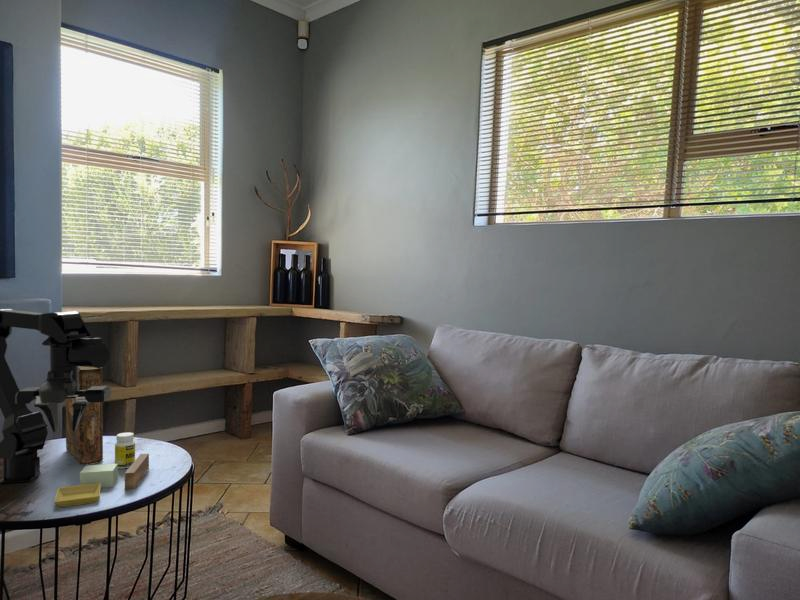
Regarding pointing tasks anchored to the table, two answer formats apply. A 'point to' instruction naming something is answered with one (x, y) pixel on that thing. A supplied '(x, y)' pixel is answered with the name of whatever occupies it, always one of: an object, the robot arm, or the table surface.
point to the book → (86, 422)
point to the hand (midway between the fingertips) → (64, 430)
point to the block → (99, 474)
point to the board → (136, 471)
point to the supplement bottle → (125, 450)
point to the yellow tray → (77, 494)
